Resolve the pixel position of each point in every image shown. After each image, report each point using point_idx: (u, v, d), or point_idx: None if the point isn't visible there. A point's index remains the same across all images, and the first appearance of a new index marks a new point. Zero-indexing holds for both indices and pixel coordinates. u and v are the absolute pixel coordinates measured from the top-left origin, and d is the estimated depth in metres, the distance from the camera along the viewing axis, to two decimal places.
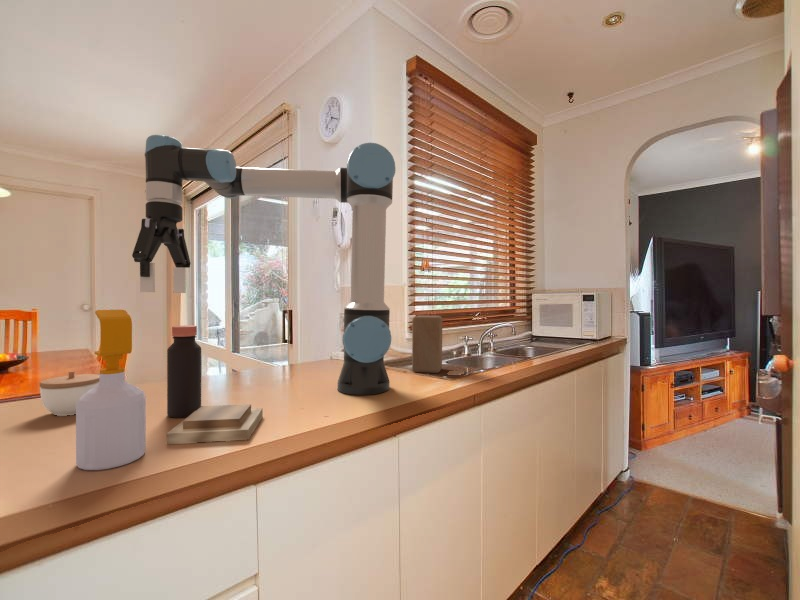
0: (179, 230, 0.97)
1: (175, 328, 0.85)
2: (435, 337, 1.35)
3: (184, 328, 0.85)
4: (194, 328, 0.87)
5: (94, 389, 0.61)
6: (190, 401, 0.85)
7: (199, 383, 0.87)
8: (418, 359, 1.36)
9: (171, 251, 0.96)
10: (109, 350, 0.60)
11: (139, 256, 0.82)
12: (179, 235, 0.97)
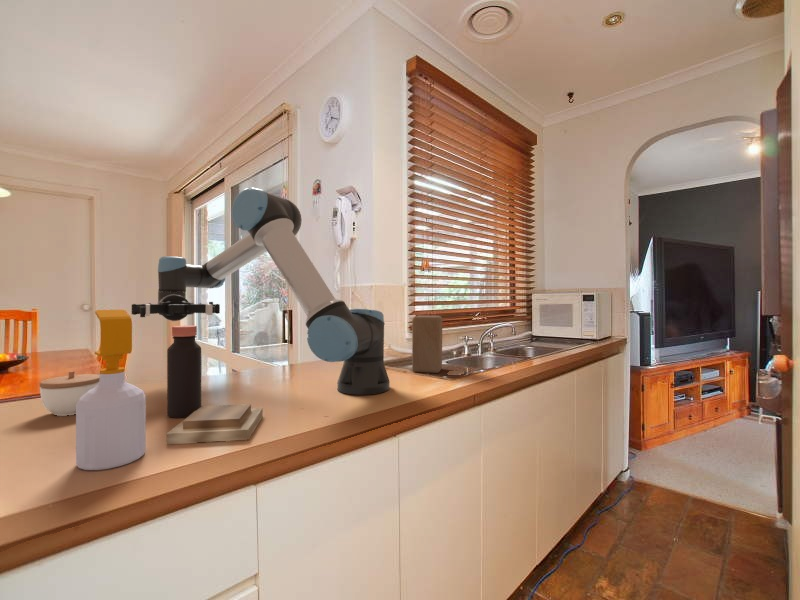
0: None
1: (175, 328, 0.85)
2: (435, 337, 1.35)
3: (184, 328, 0.85)
4: (194, 328, 0.87)
5: (94, 389, 0.61)
6: (190, 401, 0.85)
7: (199, 383, 0.87)
8: (418, 359, 1.36)
9: (195, 311, 1.06)
10: (109, 350, 0.60)
11: (132, 308, 0.96)
12: None
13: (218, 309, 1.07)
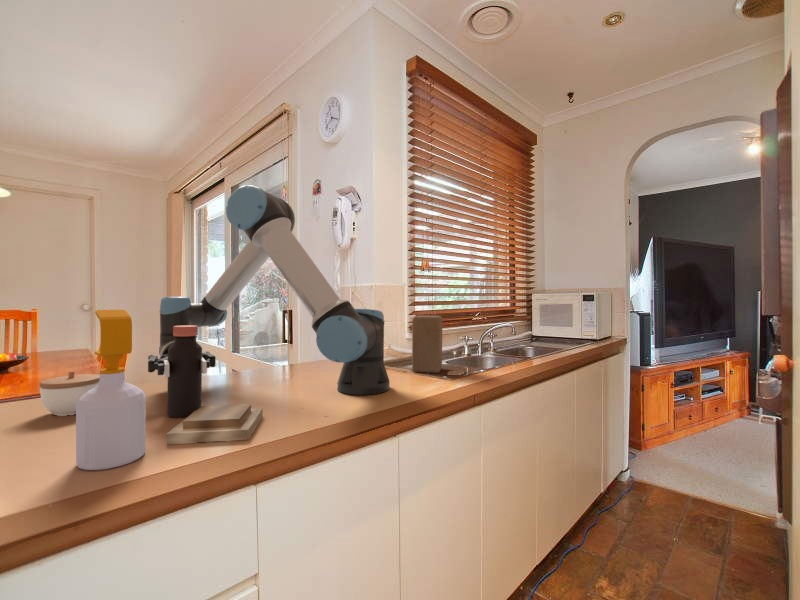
0: None
1: (176, 328, 0.85)
2: (435, 337, 1.35)
3: (185, 328, 0.85)
4: (195, 328, 0.87)
5: (94, 389, 0.61)
6: (190, 401, 0.85)
7: (199, 383, 0.87)
8: (418, 359, 1.36)
9: None
10: (109, 350, 0.60)
11: (149, 365, 0.85)
12: (202, 354, 0.99)
13: (213, 362, 0.93)
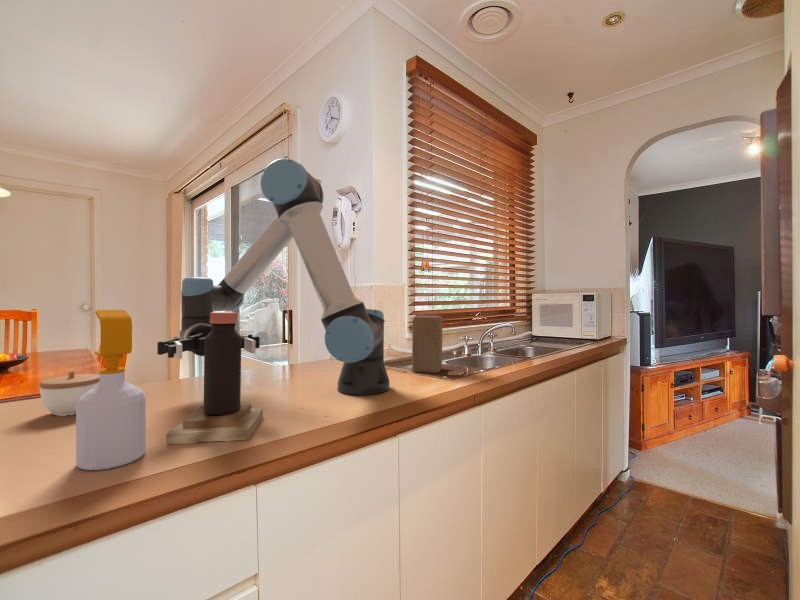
0: None
1: (215, 314, 0.75)
2: (435, 337, 1.35)
3: (224, 314, 0.76)
4: (235, 315, 0.78)
5: (94, 389, 0.61)
6: (230, 396, 0.75)
7: (239, 376, 0.78)
8: (418, 359, 1.36)
9: None
10: (109, 350, 0.60)
11: (158, 347, 0.78)
12: None
13: (258, 343, 0.89)
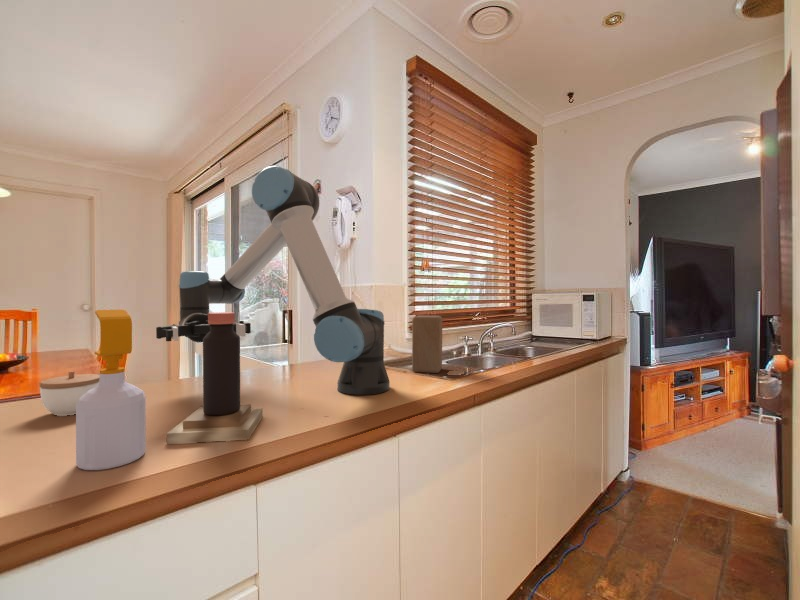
0: None
1: (212, 315, 0.75)
2: (435, 337, 1.35)
3: (222, 315, 0.75)
4: (233, 315, 0.77)
5: (94, 389, 0.61)
6: (230, 397, 0.75)
7: (238, 377, 0.78)
8: (418, 359, 1.36)
9: None
10: (109, 350, 0.60)
11: (156, 331, 0.86)
12: None
13: (249, 328, 0.97)
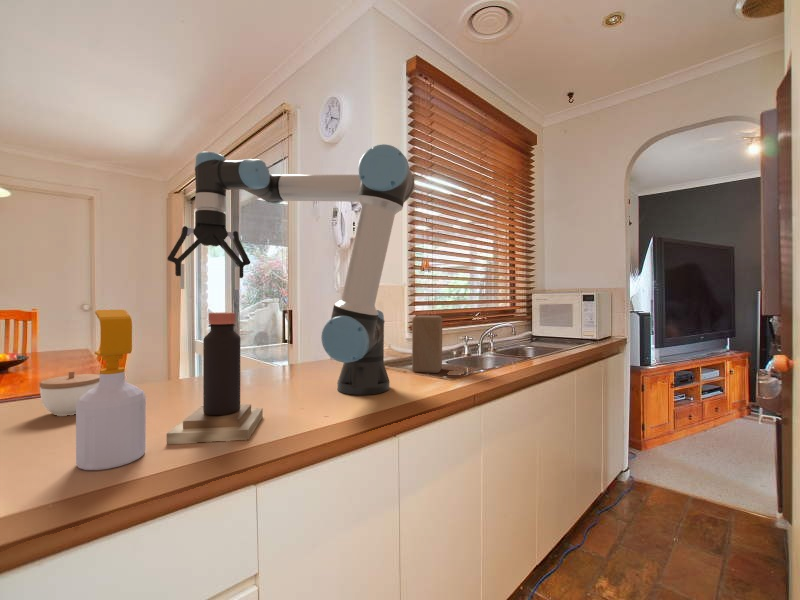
0: (233, 233, 1.07)
1: (213, 315, 0.75)
2: (435, 337, 1.35)
3: (223, 315, 0.75)
4: (233, 315, 0.77)
5: (94, 389, 0.61)
6: (230, 397, 0.75)
7: (239, 377, 0.78)
8: (418, 359, 1.36)
9: (227, 252, 1.08)
10: (109, 350, 0.60)
11: (168, 259, 0.99)
12: (232, 237, 1.07)
13: None
